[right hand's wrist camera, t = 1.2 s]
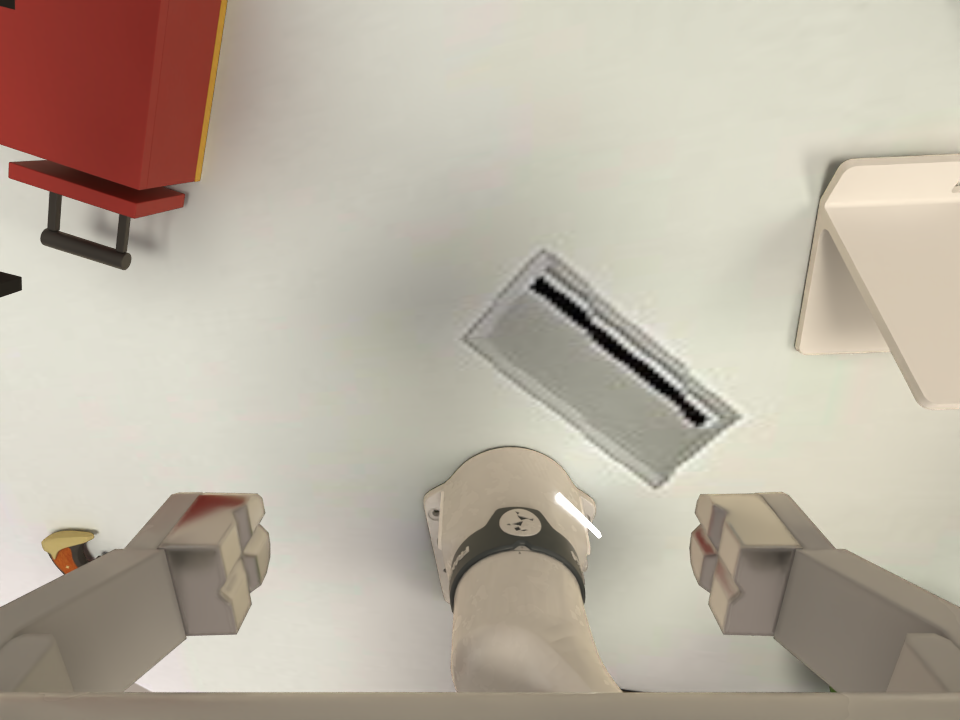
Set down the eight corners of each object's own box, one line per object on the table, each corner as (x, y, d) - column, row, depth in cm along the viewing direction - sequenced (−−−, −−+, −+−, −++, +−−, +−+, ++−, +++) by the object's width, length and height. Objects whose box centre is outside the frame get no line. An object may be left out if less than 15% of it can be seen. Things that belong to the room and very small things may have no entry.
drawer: (175, 262, 51) (127, 282, 44) (72, 229, 50) (5, 244, 43) (212, 5, 44) (161, -20, 37) (92, -40, 43) (15, -75, 36)
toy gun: (33, 539, 61) (42, 617, 63) (217, 546, 63) (218, 622, 65) (50, 525, 63) (58, 601, 66) (225, 533, 65) (227, 606, 68)
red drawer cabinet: (200, 180, 50) (139, 190, 41) (78, 140, 49) (-12, 140, 40) (234, -43, 44) (171, -89, 35) (96, -96, 42) (-6, -158, 34)
